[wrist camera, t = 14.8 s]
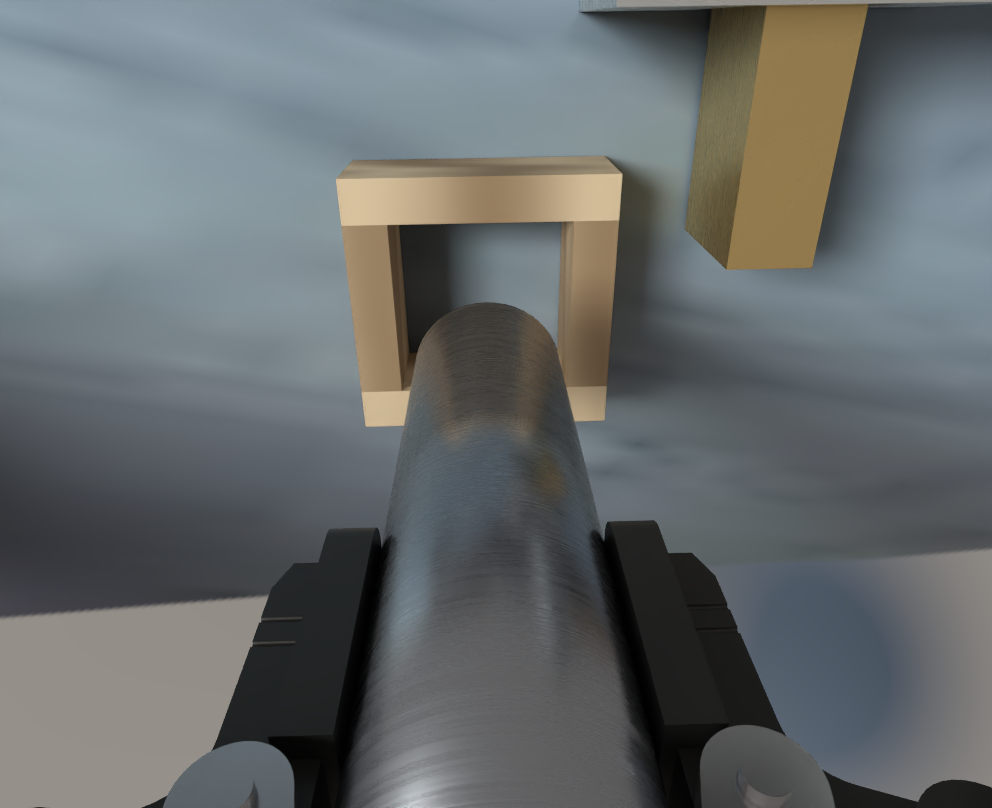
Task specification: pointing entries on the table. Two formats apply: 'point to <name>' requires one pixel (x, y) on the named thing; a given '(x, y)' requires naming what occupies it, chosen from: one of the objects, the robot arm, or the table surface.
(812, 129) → the bar
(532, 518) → the grey metal cylinder
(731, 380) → the table surface
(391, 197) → the wooden square frame
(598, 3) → the socket block
